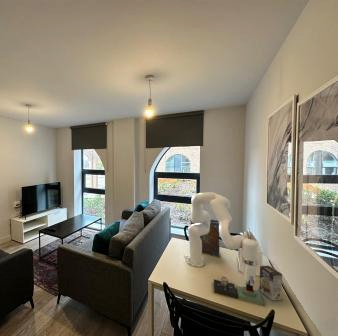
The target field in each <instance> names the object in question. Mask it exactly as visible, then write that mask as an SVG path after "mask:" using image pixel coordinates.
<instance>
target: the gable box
mask: <svg viewBox="0 0 338 336" xmlns="http://www.w3.org/2000/svg"><path fill="white" fill-rule="evenodd" d="M241 236H243V237H245V238H247V239H249V240H252V241H255V242H256V243H257V245H258V263H257V264H258V265H257V266H256V267H255V269H256V276H257V277H260V266H263V251H262V248H261V246H260V243H259V241H258V239H257V238H256V237H255V236H254V234H253V233H252V231H250V228H249V227H248V228H247V229H245V231H244V233H243V234H241ZM237 260H238V268H239V272H241V273H243V262H242V248H239V249H237Z"/></svg>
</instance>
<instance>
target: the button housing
mask: <svg viewBox="0 0 338 336" xmlns="http://www.w3.org/2000/svg"><path fill="white" fill-rule="evenodd" d="M245 288H246V286H240V285H235V289H236V292H237V299H238V300H239V301H244V302H248V303H251V304H252V303H253V304H256V305H260V306H264V302H265V301H264V299H263V297H262V295H261V293H260V292H261V291H260V290H257V289H254V288H253V293H249V292H247V291H245Z"/></svg>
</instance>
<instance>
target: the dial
mask: <svg viewBox="0 0 338 336" xmlns="http://www.w3.org/2000/svg"><path fill="white" fill-rule="evenodd" d="M220 281H221V286H222V287H223V288H228V283H229V278H228V277H226V276H224V275H222V276H221V277H220Z"/></svg>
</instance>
